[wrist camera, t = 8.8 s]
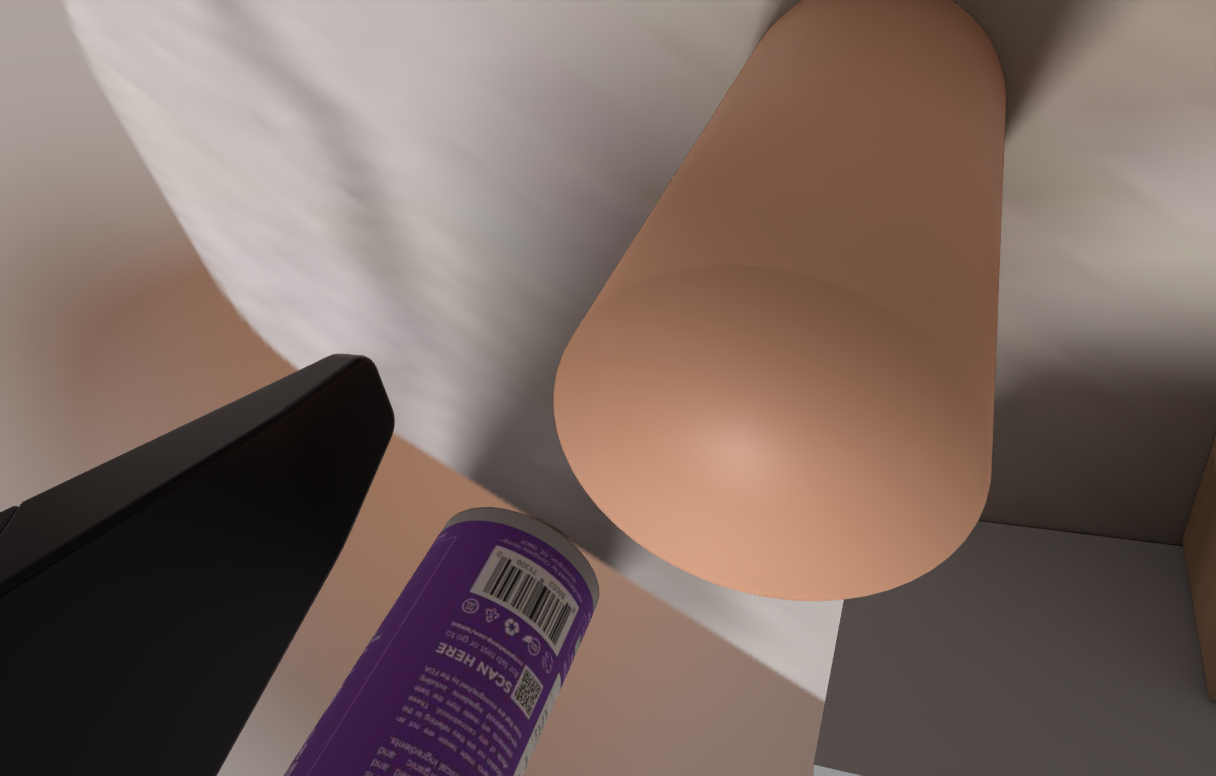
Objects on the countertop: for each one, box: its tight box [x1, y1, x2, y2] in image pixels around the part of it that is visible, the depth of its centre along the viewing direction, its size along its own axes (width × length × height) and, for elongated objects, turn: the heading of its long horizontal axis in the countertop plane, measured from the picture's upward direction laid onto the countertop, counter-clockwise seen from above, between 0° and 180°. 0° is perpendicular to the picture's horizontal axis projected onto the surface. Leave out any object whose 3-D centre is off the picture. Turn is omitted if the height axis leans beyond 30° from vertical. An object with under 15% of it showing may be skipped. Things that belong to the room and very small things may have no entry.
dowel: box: [554, 0, 1006, 601], centre depth 11 cm, size 4×4×8 cm
